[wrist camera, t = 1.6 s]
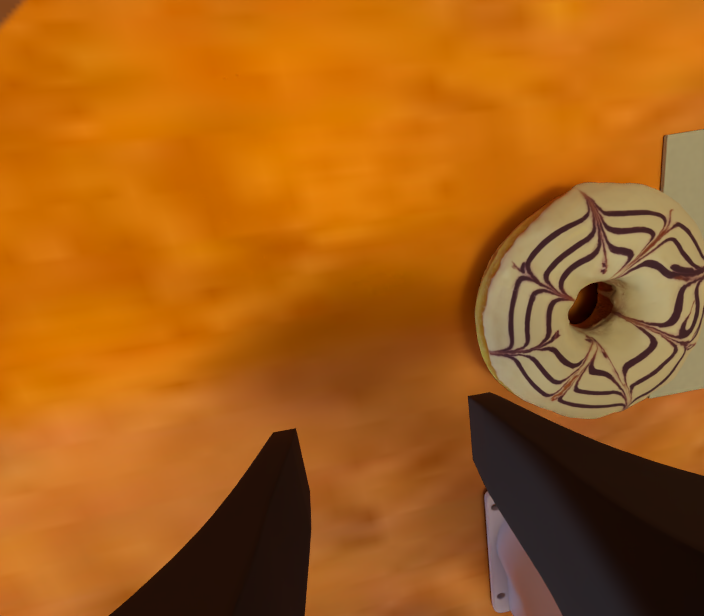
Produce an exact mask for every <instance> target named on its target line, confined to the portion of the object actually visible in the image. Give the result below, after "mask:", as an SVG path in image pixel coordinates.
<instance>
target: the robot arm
mask: <svg viewBox="0 0 704 616" xmlns="http://www.w3.org/2000/svg"><path fill="white" fill-rule="evenodd" d="M468 403H469V416H470V429H471V442H472V454H473V461H474V463H475V465H476V467H477V470H478V472H479V474H480V476H481V478H482V480H483V483H484V485H485V487H486V489H487V492H486V494H485V497H484V499H485V513H486V527H487V542H488V556H489V570H490V584H491V598H492V605H493V608H494V610H495V611H496V612H498V613H503V612H508V611H511V612H512V614H513V616H704V476H702V475H699V474H695V473H691V472H688V471H684V470H680V469H677V468H673V467H670V466H667V465H664V464H660V463H657V462H654V461H651V460H648V459H645V458H642V457H639V456H636V455H633V454H630V453H628V452H625V451H622V450H619V449H616V448H613V447H611V446H608V445H606V444H603V443H600V442H598V441H596V440H593V439H591V438H588V437H586V436H583V435H581V434H579V433H576V432H574V431H572V430H569V429H567V428H565V427H563V426H560V425H558V424H556V423H554V422H552V421H550V420H547V419H545V418H543V417H541V416H539V415H537V414H535V413H533V412H531V411H529V410H527V409H525V408H523V407H521V406H519V405H516V404H514V403H512V402H510V401H508V400H506V399H504V398H502V397H500V396H498V395H495V394H493V393H490V392H488V393H483V394H477V395H472V396H468ZM493 504H495V505H493ZM492 505H493V506H492ZM310 539H311V506H310V490H309V485H308V481H307V476H306V472H305V467H304V463H303V458H302V454H301V449H300V445H299V440H298V436H297V431H296V428H295V429H290V430H284V431H279V432H274V433H273V434H272V435H271V436H270V438H269V439H268V441H267V442H266V443H265V445H264V446H263V448H262V449H261V451H260V452H259V454H258V455H257V457H256V458H255V460H254V461H253V463H252V464H251V466H250V467H249V468H248V470H247V471H246V473H245V474H244V475H243V477H242V478H241V479H240V481H239V482H238V484H237V485H236V486H235V488H234V489H233V490H232V492H231V493H230V494H229V495H228V497H227V498H226V499H225V500H224V502H223V503H222V504H221V505H220V507H219V508H218V509H217V510H216V512H215V513H214V514H213V515H212V517H211V518H210V519H209V520H208V521H207V522H206V523H205V525H204V526H203V527H202V528H201V529H200V530H199V531H198V532H197V533H196V535H195V536H194V537H193V538H192V539H191V540H190V541H189V542H188V543H187V544H186V545H185V546H184V547H183V548H182V549H181V550H180V551H179V552H178V553H177V554H176V555H175V556H174V557H173V558H172V559H171V560H170V561H169V562H168V563H167V564H166V565H165V566H164V567H163V568H162V569H161V570H159V571H158V572H157V573H156V574H155V575H154V576H153V577H152V578H151V579H150V580H149V581H148V582H147V583H145V584H144V585H143V586H142V587H141V588H140V589H139V590H138V591H137V592H136V593H135V594H134V595H133V596H131V597H130V598H129V599H128V600H127V601H126V602H124V603H123V604H122V605H121V606H120V607H119V608H117V609H116V610H115V611H114V612H113V613H111V614H110V615H109V616H305V604H306V591H307V578H308V566H309V553H310Z"/></svg>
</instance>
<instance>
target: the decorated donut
mask: <svg viewBox="0 0 704 616" xmlns="http://www.w3.org/2000/svg"><path fill="white" fill-rule="evenodd" d="M481 279H482V281H481V282H480V283H481V284H480V287H479V289H478V294H477V300H476V306H475V324H476V332H477V339H478V343H479V347H480V350H481V354H482V357H483V359H484V361H485V363H486V365H487V367H488V369H489V371H490V372H491V374H492V375H493V376H494V378H495V379H496V380H497V381H498V382H499V383H500V384H502V385H503V386H504V387H505V388H506V389H507V390H509V391H510V392H512V393H513V394H515V395H516V396H518V397H520V398H521V399H523V400H524V401H527V402H529V403H531V404H534V405H536V406H538V407H540V408H545V409H547V410H551V411H553V412H556V413H557V414H560V415H563V416H567V417H571V418H582V419H596V418H600V417H603V416H606V415H608V414H611V413H613V412H620V411H623V410H625V409H627V408H628V407H630V406H632V405H634V404H636V403H638V402H640V401H642V400H644V399H645V398H647V397H648V396H649V395H650V394H651V393H653V392H654V391H656V390H658V389H659V388H661V387H663V386H665V385H666V384H668V383H669V382H670V381H672V380H673V379H674V378H675V376H676V375H677V374H678V372H679V370H680V368H681V367H682V366H683V364H684V362H685V360H686V358H687V356H688V355H689V353H690V352H691V351H692V349H693V348H694V347H695V345H696V343H697V341H698V339H699V336H700V333H701V329H702V325H703V321H704V241H703V238H702V235H701V231H700V230H699V228H698V226H697V224H696V223H695V221H694V220H693V219H692V218H691V217H690V216H689V214H688V213H687V212H686V211H685V210H684V209H683V208H682V206H681V205H680V204H679V203H678V202H676V201H675V200H673V199H672V198H671V197H669V196H668V195H666V194H664V193H662V192H661V191H659V190H656V189H654V188H651V187H649V186H646V185H643V184H635V183H625V184H621V183H593V182H590V183H589V182H588V183H582V184H578V185H575V186H574V187H573V188H572V189H571V190H570V191H568V192H567V193H565V194H562V195H560V196H558V197H556V198H554V199H553V200H551V201H550V202H548V203H547V204H545V205H544V206H543V207H541V208H540V209H539V210H538V211H536V212H534V213H533V214H532V215H531V216H529V217H528V218H527V219H525V220H524V221H522V222H521V223H520V224H519V225H518V226H517V227H516V228H515V229H514V230H513V231H512V232H511V234H510V235H508V236H507V238H506V239H505V240H504V241H503V242H502V243H501V244H500V245H499V246H498V249H497V250H496V251H495V253H494V254H493V255H492V257H491V259H490V260H489V263H488V265H487V268H486V270H485V272H484V275H483V278H481ZM595 282H596V283H597V284H598V289H597V291H598V295H597V296H598V302H597V304H596V307H595V309H594V311H593V312H592V314H591V315H590V316H589V318H587V319H586V320H585V321H584V322H582V323H578V324H575V325H574V324H570V323H569V322H570V321H569V320H568V311H569V309H570V308H571V306H572V305H573V303H574V302H575V300H576V298H577V295H578V293H579V291H580V290H581V289H582V288H584V287H585V286H587V285H589V284H591V283H595Z"/></svg>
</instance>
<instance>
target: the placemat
mask: <svg viewBox="0 0 704 616" xmlns="http://www.w3.org/2000/svg"><path fill="white" fill-rule="evenodd" d="M661 192H662V193H664V194H666V195H668V196H669V197H671V198H672V199H673V200H675V201H676V202H678V203H679V204H680V205H681V206H682V208H683V209H684V210H685V211H686V212H687V213H688V214H689V216H690V217H691V218H692V219H693V220H694V221H695V223H696V224H697V226H698V228H699V230H700V231H701V235H702V238H703V241H704V129H702V130H696V131H690V132H684V133H677V134H671V135H665V136H664V146H663V161H662V176H661ZM702 388H704V321H703V325H702V329H701V333H700V336H699V339H698V341H697V343H696V345H695V347H694V348H693V349H692V351H691V352H690V353H689V355H688V356H687V358H686V360H685V362H684V364H683V366H682V367H681V368H680V370H679V372H678V374H677V375H676V376H675V378H674V379H673V380H672V381H670V382H669V383H668V384H666V385H665V386H663V387H661V388H659V389H658V390H656V391H654V392H653V393H651V394H650V395H649V396H648V398H655V397H660V396H665V395H670V394H676V393H681V392H686V391H691V390H697V389H702Z"/></svg>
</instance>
